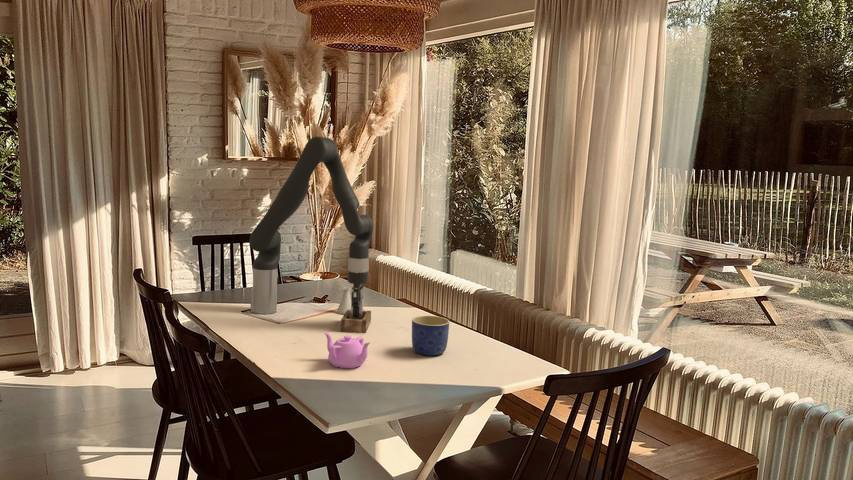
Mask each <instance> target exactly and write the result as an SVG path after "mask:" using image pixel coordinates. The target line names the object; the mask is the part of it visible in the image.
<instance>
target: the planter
mask: <svg viewBox="0 0 853 480" xmlns="http://www.w3.org/2000/svg"><path fill="white" fill-rule="evenodd" d="M449 331H450V320H449V319H447V318H445V317H442V316H437V315H418V316H414V317H413V318H411V345H412V349H413V351H415V353H417V354H419V355H422V354H423V355H422V356H428V355H434V356H439V355H442V354H443V353H445V351H446V349H447V346H448V340H449Z"/></svg>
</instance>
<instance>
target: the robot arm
mask: <svg viewBox="0 0 853 480" xmlns="http://www.w3.org/2000/svg"><path fill="white" fill-rule="evenodd" d="M342 161H343V160H342V159H341V155H340V153H339V148H338V146H337V144H336V142H335V141H334V140H333V139H332V138H329V137H325V136H324V137H323V136H319V135H318V136H314V137H311V138H310V139H309V140H308V141H307V142H306V144H305V145H304V148H303V149H302V152H301V154H300V156H299V158H298V160H297V162H296V164H295V166H294V168H293V169H292V171H291V172H290V174H289V176H288V178H286V180H285V182H284V183H283V185H282V186H281V188H280V190H279V191H278V193H277V196H276V197H275V199H274V200H273V202H272V203H271V204H270V206H269V208H268V210H267V211H266V214H264V216H263V217H262V218H261V220H260V221H259V222H258V224H257V225H256V226H255V227H254V229H253V231H251V233H250V236H249V245H250V248H251V249H252V250H253V251H255V252H258V254H257V257H256V258H255V259H254V260H253V262H252V287H251V289H250V313H254V314H261V315H271V314H274V313H277V310H278V309H277V306H278V304H277V303H278V299H277V298H278V267H279V266H278V265H279V262H280V258H281V246H282V245H281V244H282V238H281V233H280V232H279V229H280V227H281V226H282V225H283V224H284V223H285V222H286V221H287V220H289V218H290V217H291V216H293V215H294V213H295V212H297V210H298V209H299V207H301V205H302V203H303V201H304V200H305V199H306V196H307V194H308V192H309V188H310V187H309V185H310V180H311V177H312V174H313V173H314V171H315V170H316V169H317V167H318V166H319V164H320V163H323V165H324V166H325V168H326V169H327V171H328V173H329V175H330V179H331V185H332V192H333V195H334V197H335V200H336V202H337V204H338V206H339V207H340V208H339V209H341V214H342V219H343V223H344V226H345V228H346V231H348V233H349V234H351V235H353V236H354V240H353V241H350V243H349V246H348V247H349V248H348V250H349V251H348V262H347V263H348V264H347V282H348V283H349V284H352V287H351V290H350V295H351V298H352V307H353V317H359V306H360V301H361V297H363V296H364V290H365V289H364V285H365V284H368V283H369V272H370V271H369V270H370V269H369V267H370V266H369V265H370V263H369V254H370V253H369V252H370V251H369V250H370V248H369V246H370V243H371V240H372V236H373V233H374V222H373V219H372V218H371V216H370V215H367V214H359V213H358V209H359V207H360V206H361V205H360V201H359V199H358V197H357V195H356V193H355V191H354V189H353V187H352V185H351V183H350V181H349V178H348V175H347V173H346V170H345V167H344V165H343V162H342ZM354 301H356V302H357V303H354Z"/></svg>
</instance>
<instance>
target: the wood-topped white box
mask: <svg viewBox="0 0 853 480" xmlns="http://www.w3.org/2000/svg"><path fill="white" fill-rule="evenodd" d="M350 298H351V319H359V320H363V310H364V301H365V300H364V298H365V297H364V295H363V297H361V301H360V306H359V317H353V307H352V297H350ZM354 303H357V302H356V301H354Z"/></svg>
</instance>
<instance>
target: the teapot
mask: <svg viewBox="0 0 853 480" xmlns="http://www.w3.org/2000/svg"><path fill="white" fill-rule="evenodd" d="M323 334H324V335H325V336H326V340H327V344H326V345H327V346H326V347H327V351H328V358H327V360H328V362H329V363H330V364H331V365H332V366H333V367H334V366H336V367H335V368H337V367H340V368H339V369H343V368H351V369H356V368H355V367H357V368H359V367H358V366H360V367H361V366H362V365H363V364H365V362H366V360H367V358H368V346H369V345H370V344H371V342H365V343H364V340H365V339H364V336H358V337H356V338H354V337H352V335H343V337H341V338H338V339H337V340H335V342H334V343H333V338H332V336H331V334H330V333H328V332H326V331H324V332H323Z"/></svg>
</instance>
